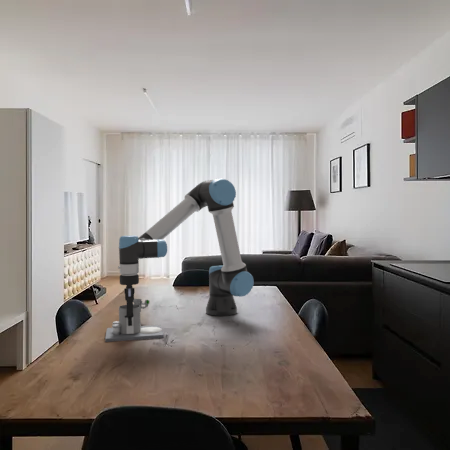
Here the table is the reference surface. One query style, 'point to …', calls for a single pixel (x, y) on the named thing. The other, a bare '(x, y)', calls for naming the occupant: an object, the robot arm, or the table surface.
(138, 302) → the mechanical component
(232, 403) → the table surface
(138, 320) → the cup
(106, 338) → the board
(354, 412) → the table surface
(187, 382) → the table surface
